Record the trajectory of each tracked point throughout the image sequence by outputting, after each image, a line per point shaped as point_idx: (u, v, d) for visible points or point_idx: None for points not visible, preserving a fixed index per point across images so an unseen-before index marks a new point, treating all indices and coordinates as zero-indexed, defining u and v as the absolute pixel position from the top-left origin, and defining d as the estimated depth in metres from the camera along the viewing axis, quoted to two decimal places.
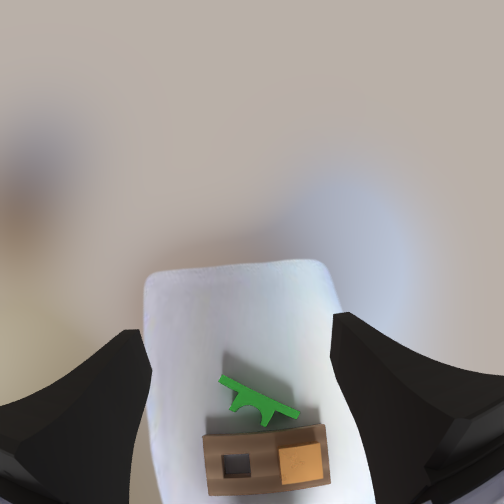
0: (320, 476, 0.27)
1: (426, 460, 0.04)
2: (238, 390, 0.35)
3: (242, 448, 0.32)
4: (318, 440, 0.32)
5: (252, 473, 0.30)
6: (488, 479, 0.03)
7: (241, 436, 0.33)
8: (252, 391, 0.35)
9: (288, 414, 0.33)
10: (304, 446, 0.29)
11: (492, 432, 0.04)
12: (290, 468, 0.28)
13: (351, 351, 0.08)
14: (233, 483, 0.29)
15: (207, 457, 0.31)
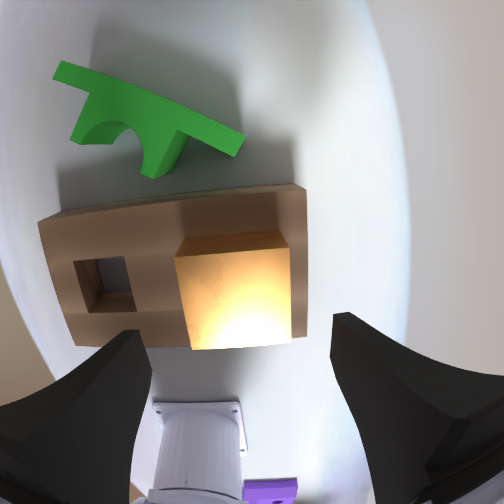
0: (284, 337, 0.14)
1: (426, 460, 0.04)
2: (90, 88, 0.11)
3: (108, 244, 0.15)
4: (287, 230, 0.16)
5: (138, 303, 0.17)
6: (488, 479, 0.03)
7: (104, 214, 0.15)
8: (121, 84, 0.11)
9: (212, 142, 0.13)
10: (245, 253, 0.13)
11: (492, 432, 0.04)
12: (207, 312, 0.14)
13: (351, 351, 0.08)
14: (107, 322, 0.17)
15: (53, 268, 0.16)
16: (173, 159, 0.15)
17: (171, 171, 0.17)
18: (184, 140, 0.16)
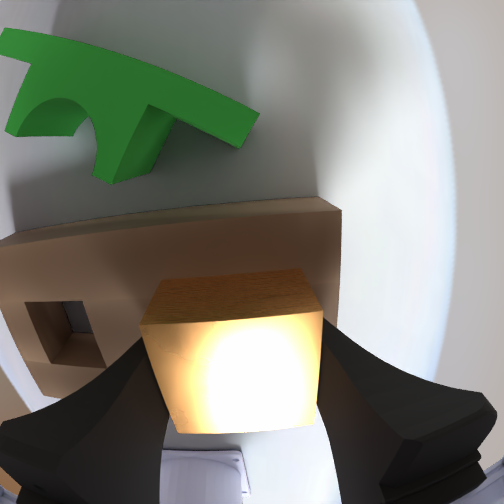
0: (305, 420, 0.09)
1: (381, 477, 0.04)
2: (32, 56, 0.06)
3: (62, 284, 0.10)
4: (311, 269, 0.11)
5: (107, 358, 0.12)
6: (454, 500, 0.03)
7: (52, 243, 0.10)
8: (71, 45, 0.06)
9: (204, 122, 0.08)
10: (251, 321, 0.08)
11: (457, 452, 0.03)
12: (195, 395, 0.09)
13: None
14: (74, 376, 0.12)
15: (4, 308, 0.10)
16: (149, 153, 0.10)
17: (149, 171, 0.12)
18: (166, 126, 0.10)
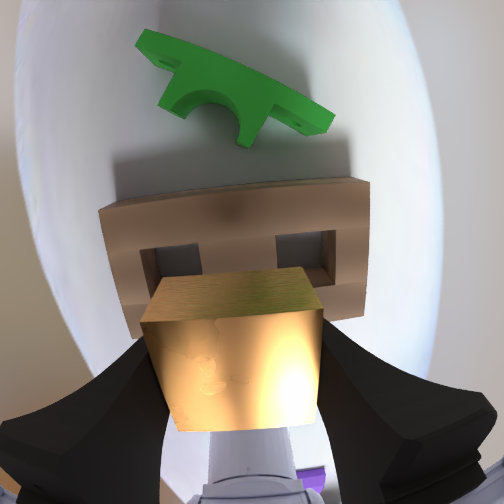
0: (305, 418, 0.09)
1: (381, 477, 0.04)
2: (181, 57, 0.12)
3: (182, 231, 0.16)
4: (353, 217, 0.17)
5: None
6: (454, 500, 0.03)
7: (179, 201, 0.16)
8: (216, 57, 0.12)
9: (307, 117, 0.14)
10: (252, 318, 0.08)
11: (457, 452, 0.03)
12: (196, 393, 0.09)
13: None
14: None
15: (114, 258, 0.17)
16: None
17: (247, 147, 0.18)
18: None
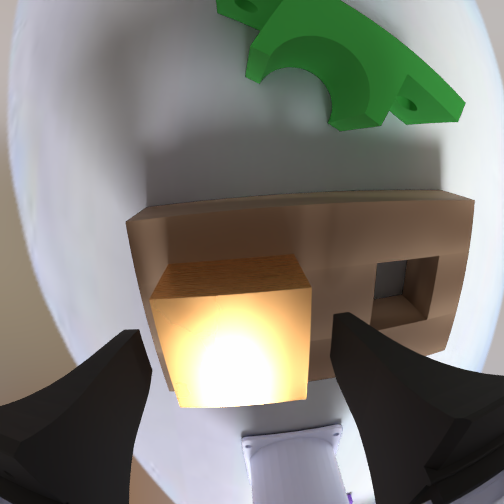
0: (298, 394, 0.10)
1: (426, 460, 0.04)
2: None
3: None
4: (456, 241, 0.12)
5: None
6: (488, 479, 0.03)
7: (254, 213, 0.11)
8: (334, 0, 0.07)
9: (440, 99, 0.09)
10: (249, 296, 0.09)
11: (492, 432, 0.04)
12: (197, 368, 0.10)
13: (351, 351, 0.08)
14: None
15: (148, 291, 0.12)
16: None
17: (341, 129, 0.13)
18: None
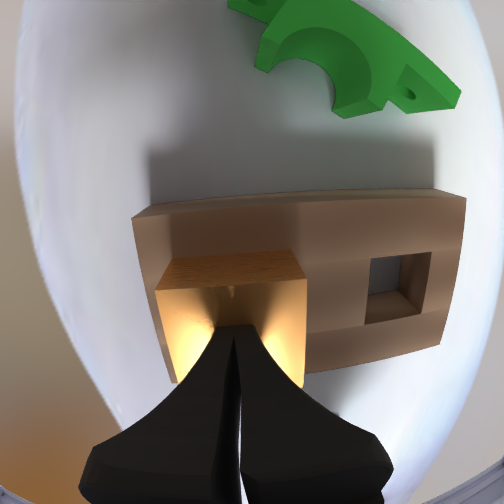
0: (295, 383, 0.11)
1: (249, 501, 0.04)
2: None
3: None
4: (448, 238, 0.13)
5: None
6: None
7: (254, 210, 0.12)
8: None
9: (437, 87, 0.09)
10: (248, 286, 0.10)
11: (339, 495, 0.03)
12: None
13: (238, 366, 0.08)
14: None
15: (153, 285, 0.13)
16: None
17: (345, 117, 0.13)
18: None
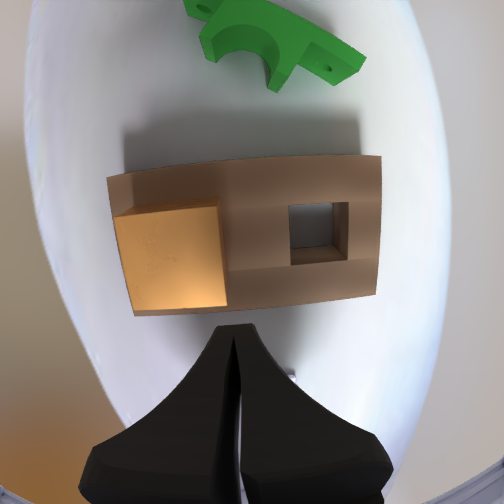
0: (219, 300, 0.15)
1: (249, 501, 0.04)
2: None
3: None
4: (365, 190, 0.16)
5: None
6: None
7: (191, 168, 0.15)
8: None
9: (341, 56, 0.13)
10: (175, 212, 0.13)
11: (339, 495, 0.03)
12: (144, 271, 0.14)
13: (238, 366, 0.08)
14: None
15: None
16: None
17: (277, 91, 0.17)
18: None
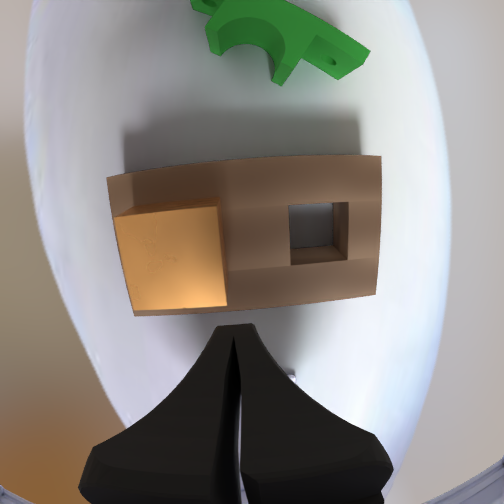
0: (219, 300, 0.15)
1: (249, 501, 0.04)
2: None
3: None
4: (365, 190, 0.16)
5: None
6: None
7: (191, 168, 0.15)
8: None
9: (345, 49, 0.12)
10: (175, 212, 0.13)
11: (339, 495, 0.03)
12: (144, 271, 0.14)
13: (238, 366, 0.08)
14: None
15: None
16: None
17: (282, 84, 0.17)
18: None
